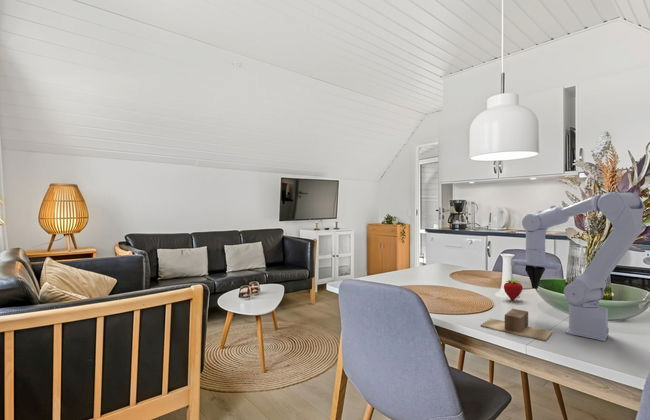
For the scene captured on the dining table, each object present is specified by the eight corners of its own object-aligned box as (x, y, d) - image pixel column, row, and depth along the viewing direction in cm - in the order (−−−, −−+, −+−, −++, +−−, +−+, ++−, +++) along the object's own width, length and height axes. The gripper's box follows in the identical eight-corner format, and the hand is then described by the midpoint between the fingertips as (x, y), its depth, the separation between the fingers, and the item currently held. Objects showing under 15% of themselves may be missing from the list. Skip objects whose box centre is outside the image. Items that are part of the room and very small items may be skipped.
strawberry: (526, 301, 137) (526, 277, 137) (510, 303, 136) (510, 278, 136) (515, 298, 143) (515, 274, 143) (499, 299, 142) (500, 275, 141)
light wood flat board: (552, 332, 104) (552, 331, 104) (545, 341, 97) (545, 340, 97) (490, 319, 117) (490, 318, 117) (480, 326, 110) (480, 325, 110)
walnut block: (528, 311, 110) (520, 318, 103) (528, 325, 110) (520, 332, 103) (512, 308, 113) (504, 314, 106) (512, 321, 113) (504, 329, 106)
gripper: (562, 249, 115) (562, 289, 115) (515, 246, 125) (515, 282, 125) (558, 251, 110) (558, 293, 110) (509, 248, 120) (509, 286, 120)
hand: (535, 288), depth 118 cm, fingers closed
